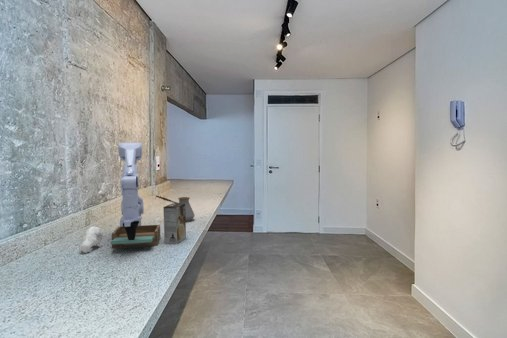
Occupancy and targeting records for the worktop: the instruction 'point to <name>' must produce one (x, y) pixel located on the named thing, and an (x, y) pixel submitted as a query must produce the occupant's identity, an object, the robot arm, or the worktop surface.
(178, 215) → the coffee box
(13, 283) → the worktop surface
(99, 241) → the white rounded lump
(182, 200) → the coffee pot
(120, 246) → the brown wooden open box
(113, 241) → the panel
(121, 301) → the worktop surface
